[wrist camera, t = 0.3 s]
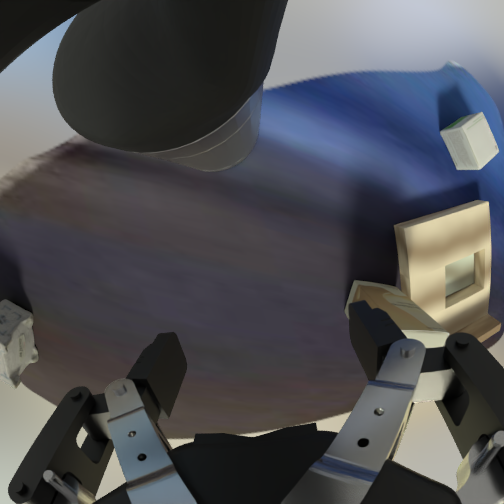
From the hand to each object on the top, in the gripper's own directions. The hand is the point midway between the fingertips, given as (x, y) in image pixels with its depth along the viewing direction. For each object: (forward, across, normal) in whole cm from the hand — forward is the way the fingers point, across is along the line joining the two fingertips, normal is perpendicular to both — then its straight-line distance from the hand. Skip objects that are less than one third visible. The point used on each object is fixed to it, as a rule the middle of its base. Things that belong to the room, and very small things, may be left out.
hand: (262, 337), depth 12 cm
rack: (+18, -23, +9) cm, 31 cm away
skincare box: (+18, -11, +9) cm, 23 cm away
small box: (+19, -28, -8) cm, 35 cm away
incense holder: (+16, +41, +6) cm, 45 cm away
